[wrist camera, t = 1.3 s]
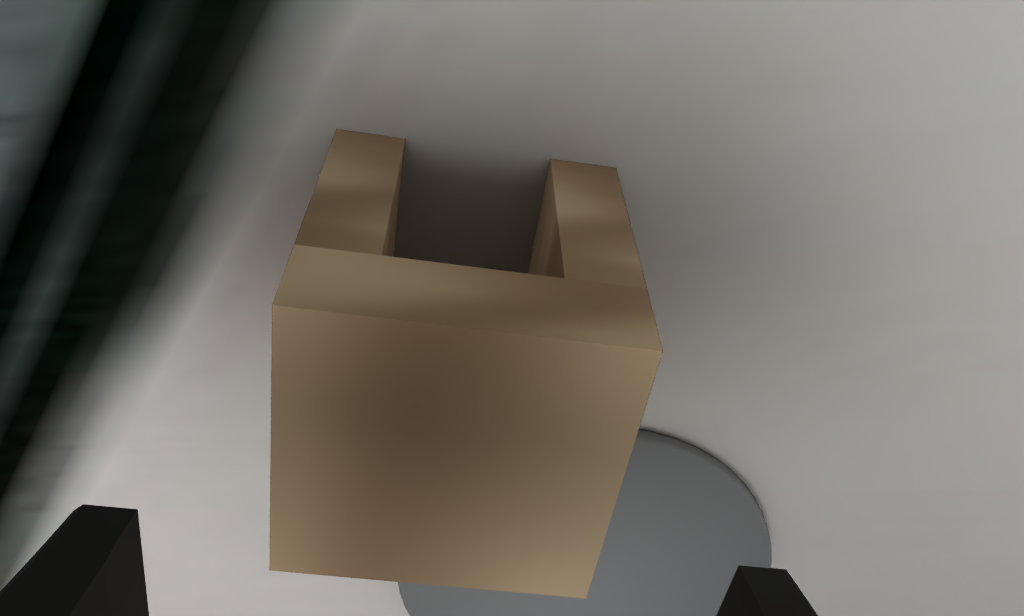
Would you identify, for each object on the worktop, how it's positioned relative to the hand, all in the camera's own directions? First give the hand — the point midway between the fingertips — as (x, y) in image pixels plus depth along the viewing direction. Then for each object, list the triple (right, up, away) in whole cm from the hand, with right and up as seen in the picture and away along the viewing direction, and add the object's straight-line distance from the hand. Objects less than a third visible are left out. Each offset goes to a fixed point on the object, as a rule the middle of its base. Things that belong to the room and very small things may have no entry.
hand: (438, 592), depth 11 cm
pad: (+3, -3, +11) cm, 12 cm away
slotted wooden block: (0, +4, +6) cm, 8 cm away
